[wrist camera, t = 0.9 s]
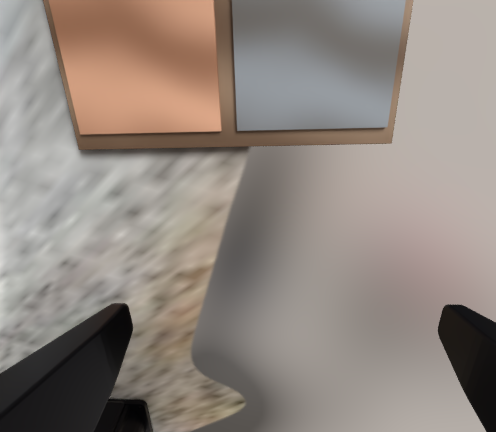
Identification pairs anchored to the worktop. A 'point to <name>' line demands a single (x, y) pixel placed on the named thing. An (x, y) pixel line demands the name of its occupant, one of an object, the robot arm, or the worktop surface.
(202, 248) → the worktop surface
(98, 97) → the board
